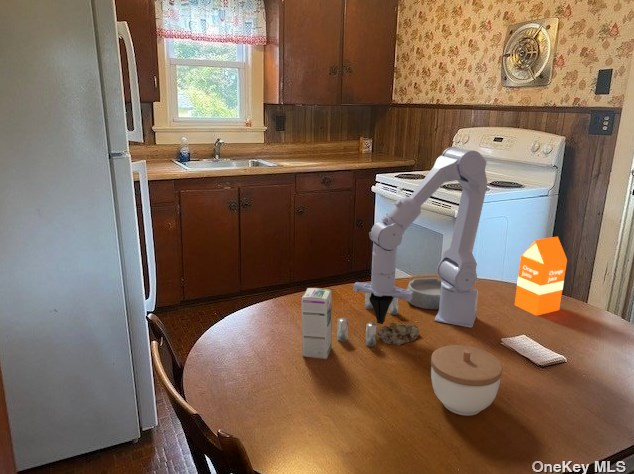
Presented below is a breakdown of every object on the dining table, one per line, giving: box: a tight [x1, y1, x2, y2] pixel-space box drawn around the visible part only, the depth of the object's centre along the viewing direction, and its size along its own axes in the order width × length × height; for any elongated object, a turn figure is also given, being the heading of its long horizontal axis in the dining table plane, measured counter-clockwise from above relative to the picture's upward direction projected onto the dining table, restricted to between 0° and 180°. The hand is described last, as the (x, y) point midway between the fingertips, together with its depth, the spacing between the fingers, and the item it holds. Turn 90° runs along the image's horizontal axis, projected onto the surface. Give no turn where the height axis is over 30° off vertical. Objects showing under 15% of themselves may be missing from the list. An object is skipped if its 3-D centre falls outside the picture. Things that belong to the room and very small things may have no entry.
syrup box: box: [300, 287, 333, 360], centre depth 108 cm, size 6×6×14 cm
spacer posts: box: [336, 292, 400, 348], centre depth 123 cm, size 9×22×5 cm, turn 155°
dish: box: [405, 277, 441, 310], centre depth 138 cm, size 14×14×5 cm
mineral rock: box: [376, 322, 420, 346], centre depth 117 cm, size 11×4×8 cm
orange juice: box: [514, 236, 568, 316], centre depth 131 cm, size 8×9×20 cm
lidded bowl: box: [430, 344, 503, 417], centre depth 90 cm, size 13×13×11 cm
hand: (380, 322), depth 122 cm, fingers closed
